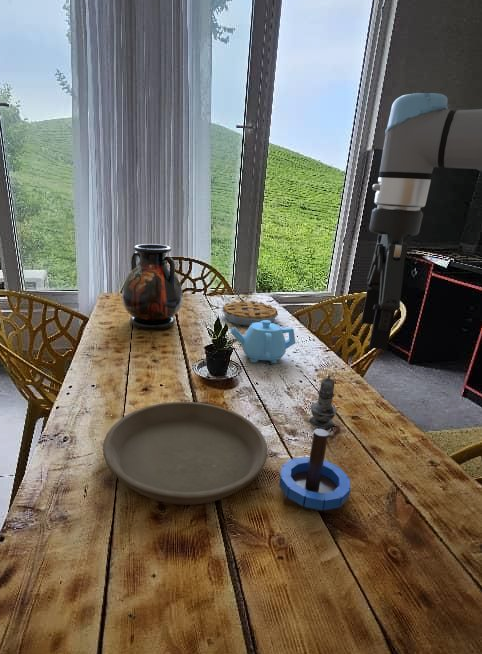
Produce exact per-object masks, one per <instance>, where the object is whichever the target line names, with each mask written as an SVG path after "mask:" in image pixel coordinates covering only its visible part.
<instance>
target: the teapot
mask: <svg viewBox="0 0 482 654" xmlns="http://www.w3.org/2000/svg"><path fill="white" fill-rule="evenodd" d="M293 327H294V326H293ZM293 327H281V326H280V325H279V324H278V323H274V322H272V323H271V321H269V320H263V321H261V322H256V323H252V324H251V325H250V326H248V328H247V330H246V332H245V333H244V335H243V334H242V333H241V332H240V331H239V329H238V328H237V327H236V326H235V327H233V328H232V329H230V331H229V332H230V334H231V335H232V336H234V338H235V339H236V341H237V342H238V343H239V344H240V345H241V346H242V348H241V349H242V351H243V352H244V354H245V355H246V357H248V358H249V359H250V361H251V362H252V363H258V362H259V361H268V362H270V363H272V364H277V363H278V360H280V359H282V358H283V356H285V355H286V351H287V349H289V348H290V347H292V346H293V345H295V344H296V338H295V331H294V328H293ZM284 334H288V339H286V338H285V335H284Z"/></svg>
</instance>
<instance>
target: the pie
mask: <svg viewBox="0 0 482 654" xmlns="http://www.w3.org/2000/svg"><path fill="white" fill-rule="evenodd" d="M221 310H222V313H223V314H224V316H225V318H226V320H227V321H228V322H230V323H232V324H234V325H238V326H239V325H241V326H247V327H250V325H251V324H252V323H256V322H261V321H263V320H269V321H271V323H274V321H275V319H276V317H278V316H279V313H278V312H279V311H278V310H277V308H276V307H273V306H272V305H271V304H265V303H264V302H262V301H260V302H256V301H245V300H244V301H243V300H240V301H238V302H236V301H232V302H231V303H230V302H226V303H225V305H222V309H221Z"/></svg>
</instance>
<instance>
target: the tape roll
mask: <svg viewBox="0 0 482 654" xmlns="http://www.w3.org/2000/svg"><path fill="white" fill-rule="evenodd" d="M309 458H310V456H301V457H294V458H290V459H289V460H287V461H286V462H285V463H284V464H282V465H281V467H280V474H279V482H278V486H279V487H280V489H281V491H282V492H283V493H284V496H285V495H286V496H287V497H288V498H289V499H291V500H293V501H295V502H296V503H298V504H300V505H301V506H304V507H308V508H313V509H318V510H322V509H323V510H328V509H334V508H339V506H340V507H342V506H343V505H344V504H345V503H346V502H347V501H348V500H349V498H350V495H351V491H352V490H351V489H352V488H351V478H350V477H349V476H348V475H347V474H346V472H345V471H344V470H343V469H342V468H341V467H339V465H337V464H334V463H332V462H330V461H329V460H326V459H324V463H323V469H322V475H324V476H326V477H328V478H330V479H331V480H332V481H333V482H334V483H335V484H336V486H337V488H336V489H335V490H334V491H332V492H326V493H317V492H312V491H308V490H306V489H304V488H302V487H300V486H299V485H297V484H296V483H295V481H294V480H293V479H292V476H294V475H295V474H296V473H299V472H305V471H308V465H309Z"/></svg>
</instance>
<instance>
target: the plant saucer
mask: <svg viewBox="0 0 482 654" xmlns="http://www.w3.org/2000/svg"><path fill="white" fill-rule="evenodd" d="M104 437H105V438H104V441H103V447H102V451H103V457H104V461H105V463H106V465H107V467H108V468H109V470H110V471H111V472H112V473H113V475H114V476H115V477H116V478H117V480H119V481H120V482H121V483H122V484H124V485H125V486H126V487H127V488H129V489H131V490H132V491H135V492H136V493H138V494H139V495H142V496H143V497H146V498H148V499H150V500H153V501H157V502H159V503H165V504H170V505H179V506H193V505H202V504H208V503H213V502H216V501H220V500H222V499H225V498H227V497H229V496H232V495H233V494H235V493H237V492H239V491H241V490H243V489H244V488H245V487H247V486H248V485H249V484H251V483H252V482H253V481H254V480H255V479H256V478H257V477H258V476H259V475H260V474H261V472H262V471H263V469H264V467H265V465H266V462H267V459H268V445H267V442H266V440H265V437H264V435H263V433H262V431H260V430H259V428H258V427H257V426H256V425H255V424H254V423H253V422H252V421H250V420H249V419H248V418H246V417H244V416H243V415H242V414H240V413H237V412H235V411H233V410H230V409H228V408H225V407H222V406H219V405H214V404H210V403H203V402H194V401H172V402H171V401H170V402H162V403H156V404H153V405H148V406H145V407H142V408H138V409H137V410H134V411H132V412H129V413H128V414H125V416H123V417H122V418H120V419H119V420H117V422H115V423H114V424H113V425H112V427H110V429H109V430H108V431H107V433H106V436H104Z"/></svg>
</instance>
